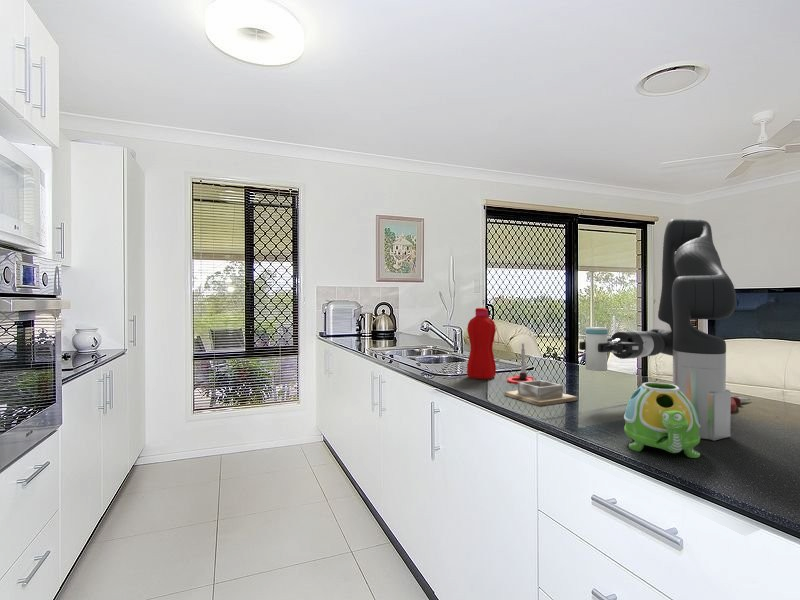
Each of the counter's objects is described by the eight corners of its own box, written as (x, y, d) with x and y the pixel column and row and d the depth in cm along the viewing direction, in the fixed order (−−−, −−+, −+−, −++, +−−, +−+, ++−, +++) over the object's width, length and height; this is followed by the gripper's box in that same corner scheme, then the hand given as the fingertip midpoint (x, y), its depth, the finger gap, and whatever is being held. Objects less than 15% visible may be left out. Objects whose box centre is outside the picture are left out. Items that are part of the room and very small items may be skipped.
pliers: (769, 407, 115) (768, 397, 115) (726, 416, 106) (725, 405, 106) (721, 398, 125) (721, 389, 125) (678, 405, 117) (678, 396, 117)
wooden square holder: (577, 400, 120) (577, 386, 120) (539, 405, 113) (540, 390, 113) (539, 390, 132) (539, 377, 132) (504, 395, 126) (504, 381, 126)
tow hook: (528, 386, 141) (536, 380, 149) (527, 347, 140) (535, 343, 148) (503, 384, 145) (512, 378, 153) (502, 346, 145) (511, 342, 153)
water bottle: (493, 381, 147) (493, 308, 147) (464, 378, 153) (464, 307, 153) (502, 377, 154) (503, 308, 154) (474, 374, 160) (474, 307, 160)
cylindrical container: (612, 370, 112) (612, 327, 112) (598, 371, 109) (598, 328, 109) (594, 367, 116) (594, 326, 117) (580, 368, 114) (581, 327, 114)
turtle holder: (634, 465, 73) (635, 395, 73) (619, 433, 90) (619, 377, 90) (721, 475, 69) (721, 401, 69) (687, 440, 86) (688, 381, 86)
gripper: (608, 329, 126) (567, 330, 118) (657, 332, 113) (614, 334, 105) (608, 355, 126) (567, 358, 118) (657, 361, 113) (614, 364, 105)
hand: (589, 346), depth 112 cm, fingers closed on cylindrical container, 5 cm apart
